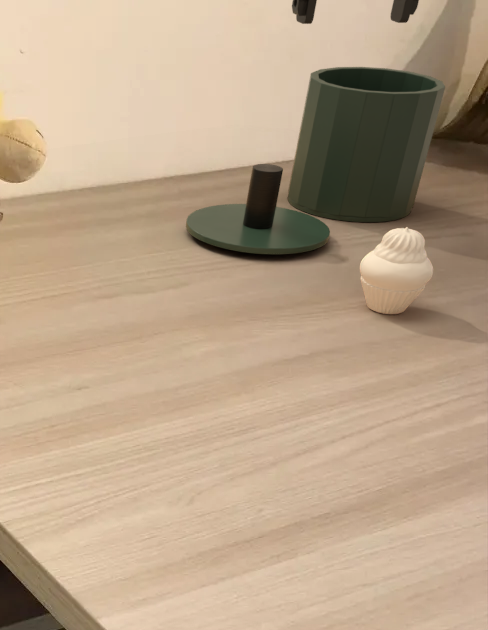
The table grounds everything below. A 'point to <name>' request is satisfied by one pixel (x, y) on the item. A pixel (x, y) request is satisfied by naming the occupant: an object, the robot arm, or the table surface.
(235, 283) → the table surface
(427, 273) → the muffin
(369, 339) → the table surface
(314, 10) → the robot arm
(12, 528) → the table surface
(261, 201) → the tin lid
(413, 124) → the tin
